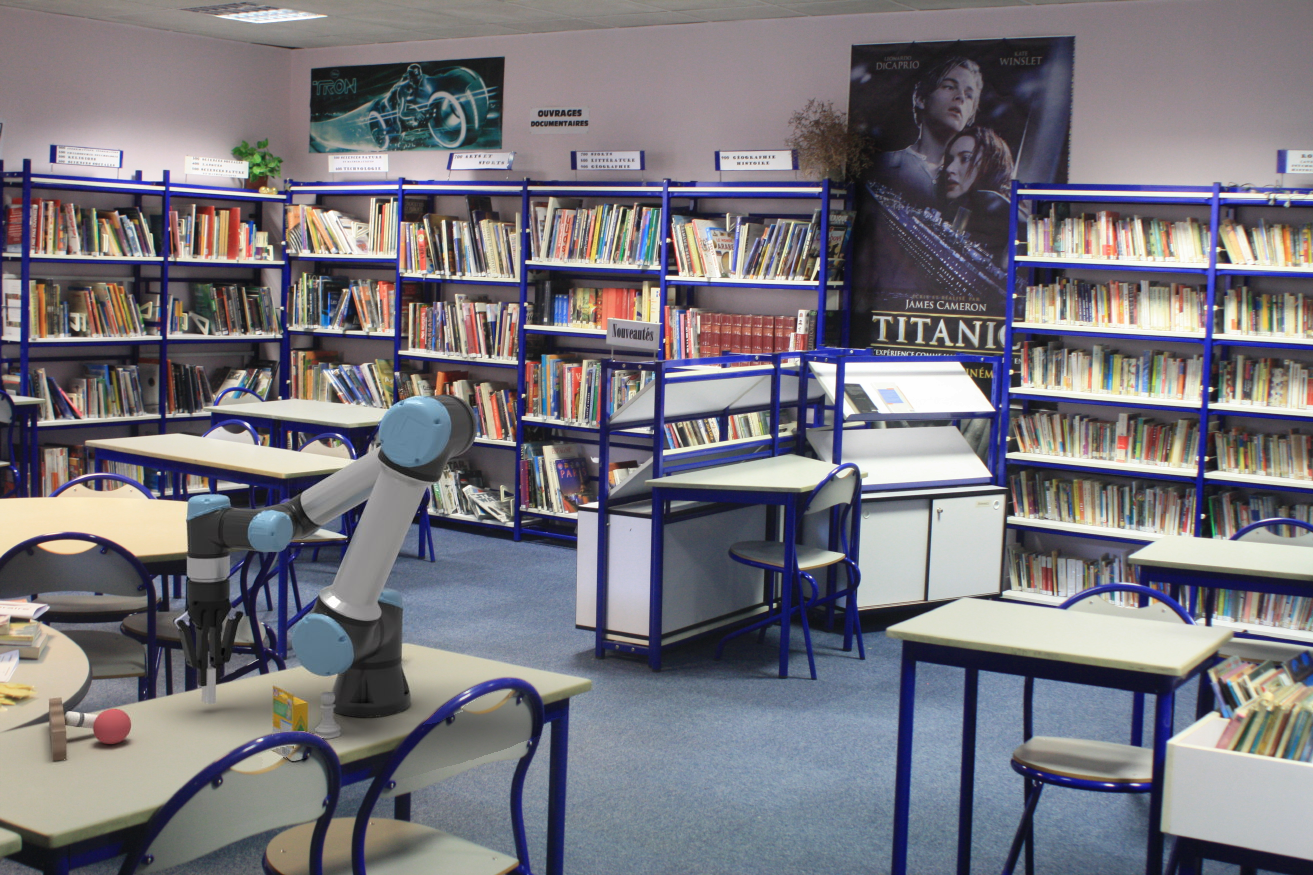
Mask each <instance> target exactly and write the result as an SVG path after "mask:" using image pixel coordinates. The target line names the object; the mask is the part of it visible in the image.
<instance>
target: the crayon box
mask: <svg viewBox="0 0 1313 875" xmlns="http://www.w3.org/2000/svg"><path fill="white" fill-rule="evenodd" d="M280 693H281V694H280ZM308 727H309V702H307V701H305V700H303V699H300V698H299V697H296V696H295V695H294V694H293V693H291V692H289V691H286V690H285V689H282V688H281V687H278V686H276V685H272V735H273V734H275V733H280V732H291V731H305V732H309V728H308ZM293 749H294V746H286V747H280V748H276V749H273V750H271V751H272V752H273V753H276V754H277V755H279V756H281V757H283V758H285V759H287V758H286V757H287V756H288V755H289V754H290V753H291V752H292V751H293Z"/></svg>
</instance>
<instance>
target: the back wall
mask: <svg viewBox="0 0 1313 875" xmlns="http://www.w3.org/2000/svg"><path fill="white" fill-rule="evenodd" d="M64 713H65V712H64V707H63V699H62V697H52V698H51V697H50V698H48V716H49V718H48V720H49V721H48V722H49V723H48V724H49V725H48V726H50V727H49V736H51V737H50V744H51V746H52V747H51V746H50V747H51V754H52V755H51V756H52V762H53V761H54V762H56V761H55V760H62V761H65V760H64V759H66V760H67V725H65V719H64V717H65V714H64Z"/></svg>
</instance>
